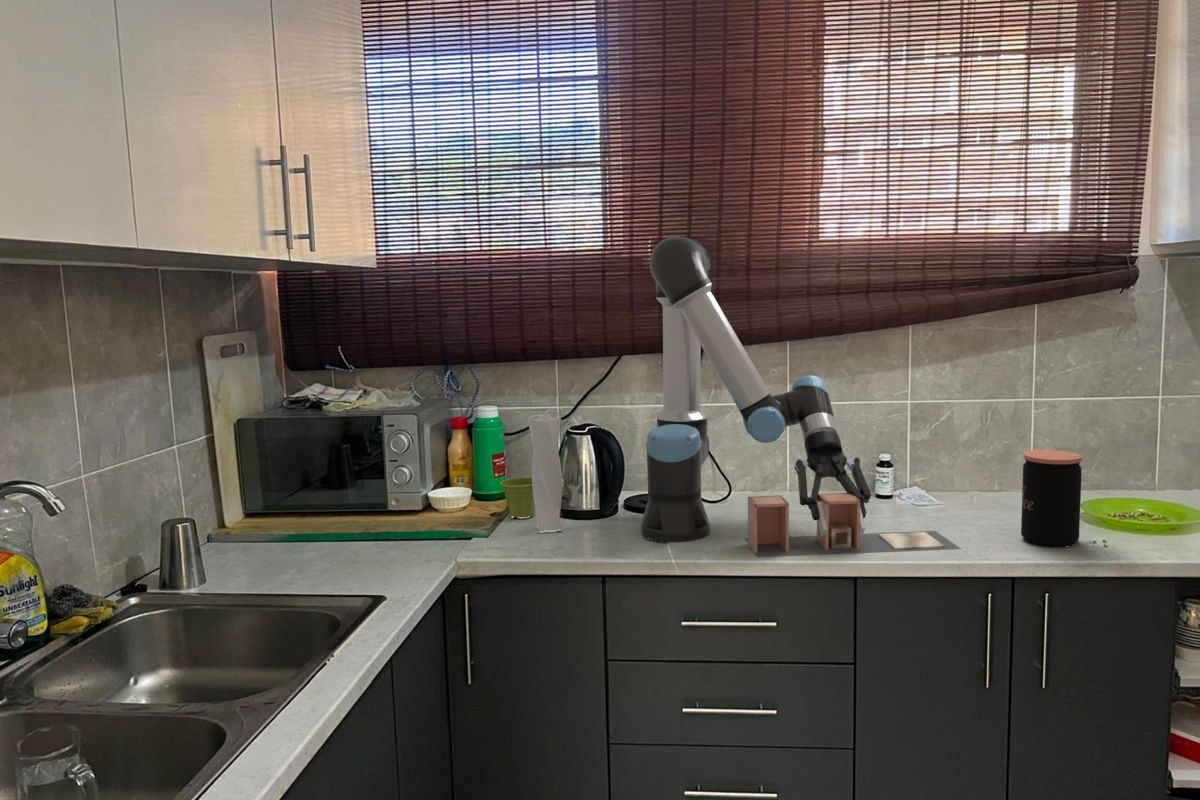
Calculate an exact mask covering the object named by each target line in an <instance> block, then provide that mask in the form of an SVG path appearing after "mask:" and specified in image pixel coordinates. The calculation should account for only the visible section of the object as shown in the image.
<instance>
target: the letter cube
mask: <svg viewBox="0 0 1200 800" xmlns="http://www.w3.org/2000/svg"><path fill="white" fill-rule="evenodd" d="M829 546H830V547H831V548H849V547H851V528H850V527H849V526H848V525H847V524H846V523H833V524H829Z"/></svg>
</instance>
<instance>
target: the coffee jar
mask: <svg viewBox="0 0 1200 800" xmlns="http://www.w3.org/2000/svg"><path fill="white" fill-rule="evenodd" d="M1023 459H1024V461H1025V462H1024V463H1023V465H1022V484H1021V485H1022V488H1021V489H1022V490H1021V492H1022V493H1021V495H1022V496H1021V521H1020V522H1021V524H1020V535H1021V536H1022V538H1023V540H1024V541H1025V542H1026V541H1027V543H1029V544H1031V545H1036V546H1039V547H1044V546H1045V548H1053V547H1063V548H1067V547H1066V546H1070V547H1073V546H1074V544H1075V545H1076V543H1078V541H1079V539H1080V525H1081V521H1080V520H1081V519H1080V518H1081V502H1082V501H1081V498H1082V497H1081V496H1082V474H1083V472H1082V467H1081V465H1080V464H1081V462H1082V461H1083V456H1082V454H1079V453H1076V452H1071V451H1067V450H1058V449H1032V450H1028V451H1027V450H1026V451H1024V452H1023ZM1072 545H1073V546H1072Z"/></svg>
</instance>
